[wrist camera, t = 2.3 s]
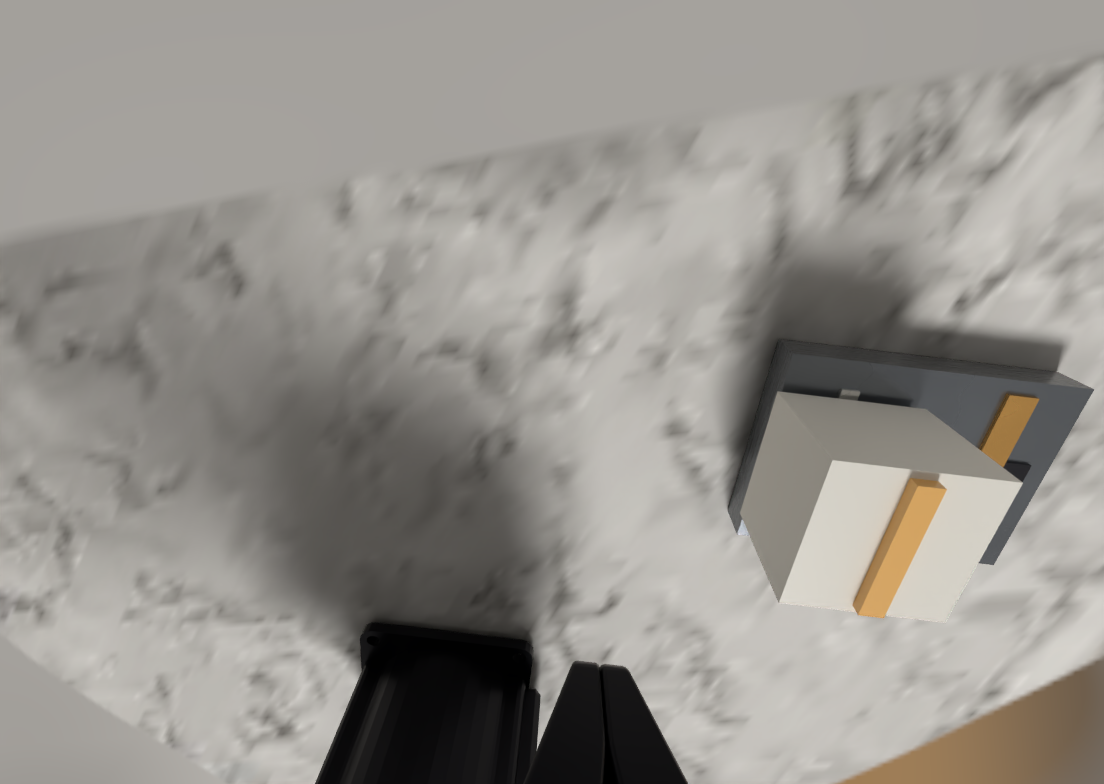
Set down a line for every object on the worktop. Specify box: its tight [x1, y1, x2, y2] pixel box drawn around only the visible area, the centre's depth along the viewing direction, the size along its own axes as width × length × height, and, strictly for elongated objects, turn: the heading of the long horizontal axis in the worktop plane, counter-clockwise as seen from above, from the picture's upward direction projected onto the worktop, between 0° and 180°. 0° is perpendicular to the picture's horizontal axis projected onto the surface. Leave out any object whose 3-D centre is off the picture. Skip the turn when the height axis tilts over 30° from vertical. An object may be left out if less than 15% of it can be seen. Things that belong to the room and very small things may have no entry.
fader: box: [740, 391, 1023, 623], centre depth 14 cm, size 4×4×4 cm
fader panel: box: [728, 339, 1094, 565], centre depth 16 cm, size 8×6×1 cm
